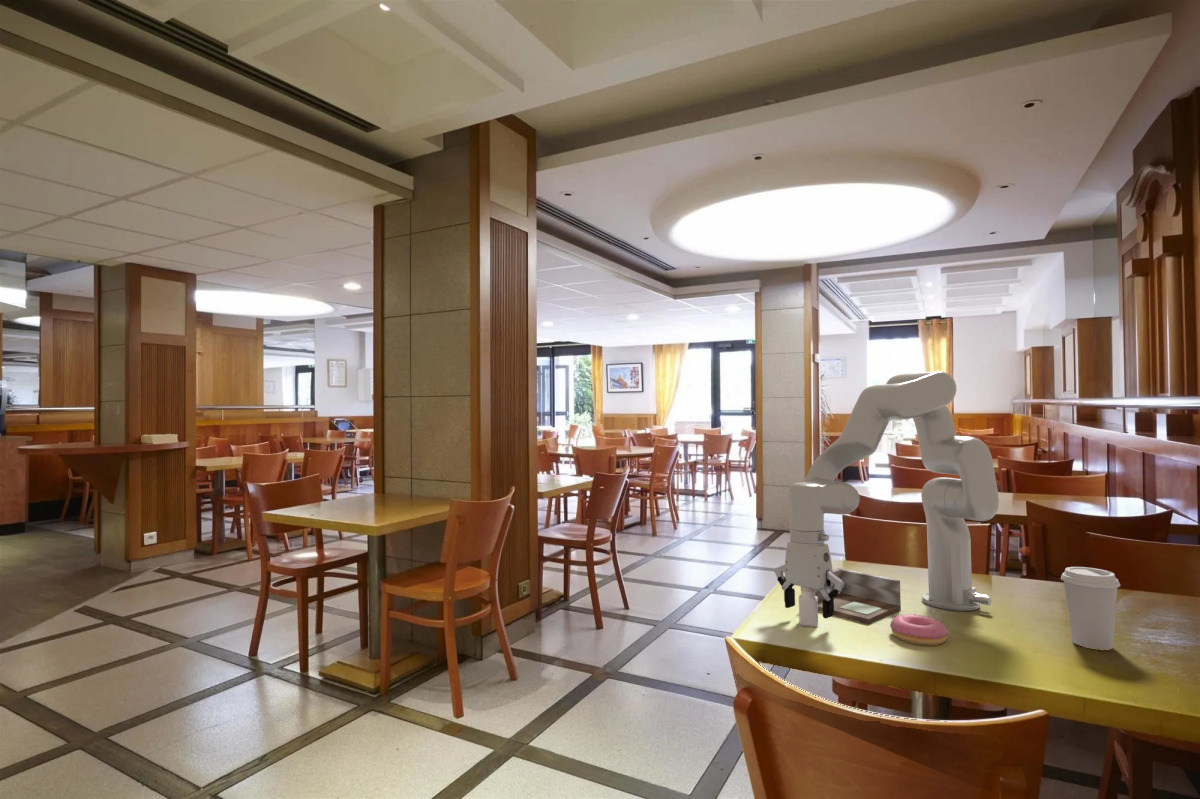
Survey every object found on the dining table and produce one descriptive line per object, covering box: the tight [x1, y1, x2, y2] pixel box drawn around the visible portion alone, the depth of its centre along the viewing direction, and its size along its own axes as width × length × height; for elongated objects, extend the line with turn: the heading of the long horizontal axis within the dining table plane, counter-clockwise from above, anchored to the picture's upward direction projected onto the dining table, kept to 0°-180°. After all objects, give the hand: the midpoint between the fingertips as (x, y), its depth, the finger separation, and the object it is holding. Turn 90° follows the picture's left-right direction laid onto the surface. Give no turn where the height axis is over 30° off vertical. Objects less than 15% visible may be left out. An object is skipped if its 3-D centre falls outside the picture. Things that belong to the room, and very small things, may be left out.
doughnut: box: [889, 613, 948, 646], centre depth 130 cm, size 11×11×4 cm
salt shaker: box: [798, 586, 819, 628], centre depth 139 cm, size 4×4×10 cm
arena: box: [815, 568, 902, 625], centre depth 150 cm, size 16×16×7 cm
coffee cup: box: [1060, 566, 1121, 650], centre depth 125 cm, size 10×10×15 cm
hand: (808, 611), depth 139 cm, fingers open, 9 cm apart
